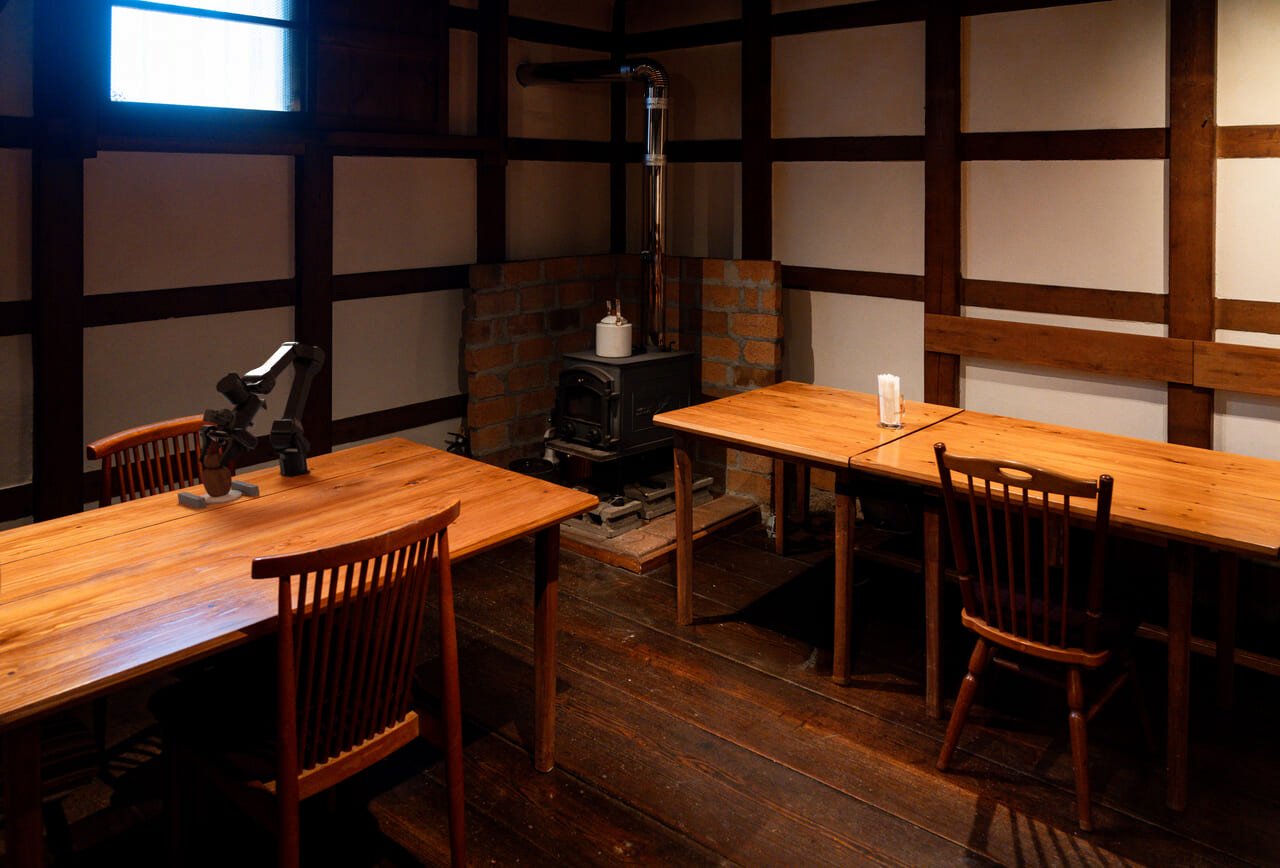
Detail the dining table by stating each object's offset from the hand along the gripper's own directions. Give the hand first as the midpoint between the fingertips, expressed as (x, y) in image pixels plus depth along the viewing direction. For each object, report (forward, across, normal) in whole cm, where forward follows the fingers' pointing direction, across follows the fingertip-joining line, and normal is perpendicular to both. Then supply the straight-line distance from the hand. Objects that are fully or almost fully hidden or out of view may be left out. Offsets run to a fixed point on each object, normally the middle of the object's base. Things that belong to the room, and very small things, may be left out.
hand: (210, 463), depth 253 cm
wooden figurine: (+5, 0, +7) cm, 9 cm away
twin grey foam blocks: (+6, 0, +8) cm, 10 cm away
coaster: (+6, 0, +8) cm, 10 cm away
